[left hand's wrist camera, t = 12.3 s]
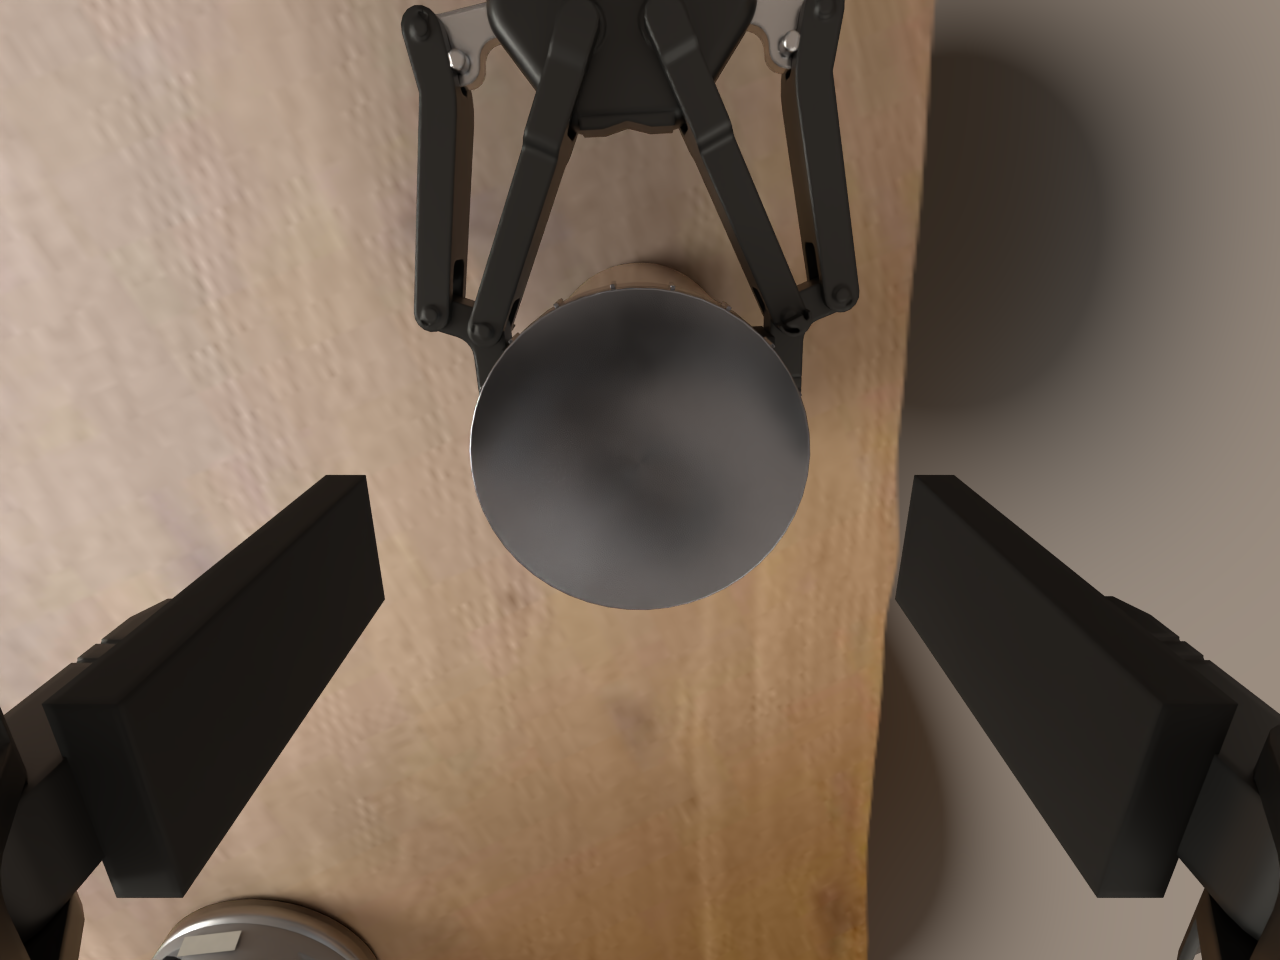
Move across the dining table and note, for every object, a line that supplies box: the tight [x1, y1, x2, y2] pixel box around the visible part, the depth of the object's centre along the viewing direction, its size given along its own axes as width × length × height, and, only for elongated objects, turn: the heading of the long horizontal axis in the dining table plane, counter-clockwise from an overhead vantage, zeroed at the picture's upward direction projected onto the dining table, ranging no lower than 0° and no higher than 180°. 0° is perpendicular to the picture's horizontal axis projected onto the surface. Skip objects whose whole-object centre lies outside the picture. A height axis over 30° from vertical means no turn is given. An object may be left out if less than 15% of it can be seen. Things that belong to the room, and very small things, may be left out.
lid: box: [470, 281, 810, 610], centre depth 18 cm, size 9×9×2 cm
